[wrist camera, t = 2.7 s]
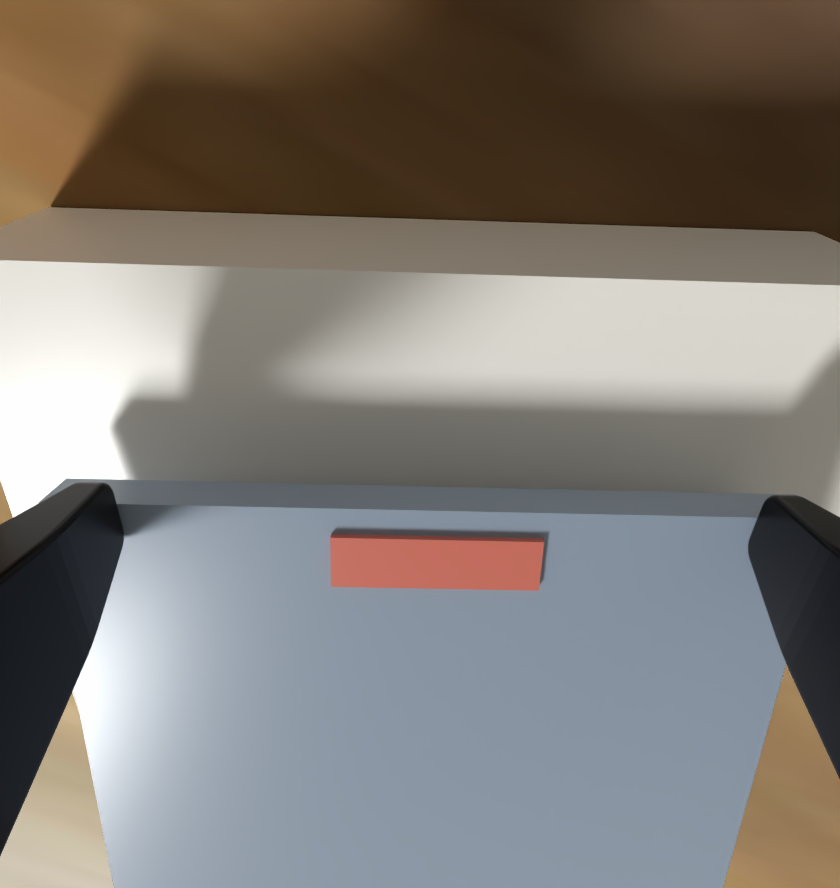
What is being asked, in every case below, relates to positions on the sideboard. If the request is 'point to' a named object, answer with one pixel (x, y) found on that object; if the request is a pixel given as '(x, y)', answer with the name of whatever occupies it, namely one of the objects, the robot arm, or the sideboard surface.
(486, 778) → the plate
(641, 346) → the white long base
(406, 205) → the sideboard surface
